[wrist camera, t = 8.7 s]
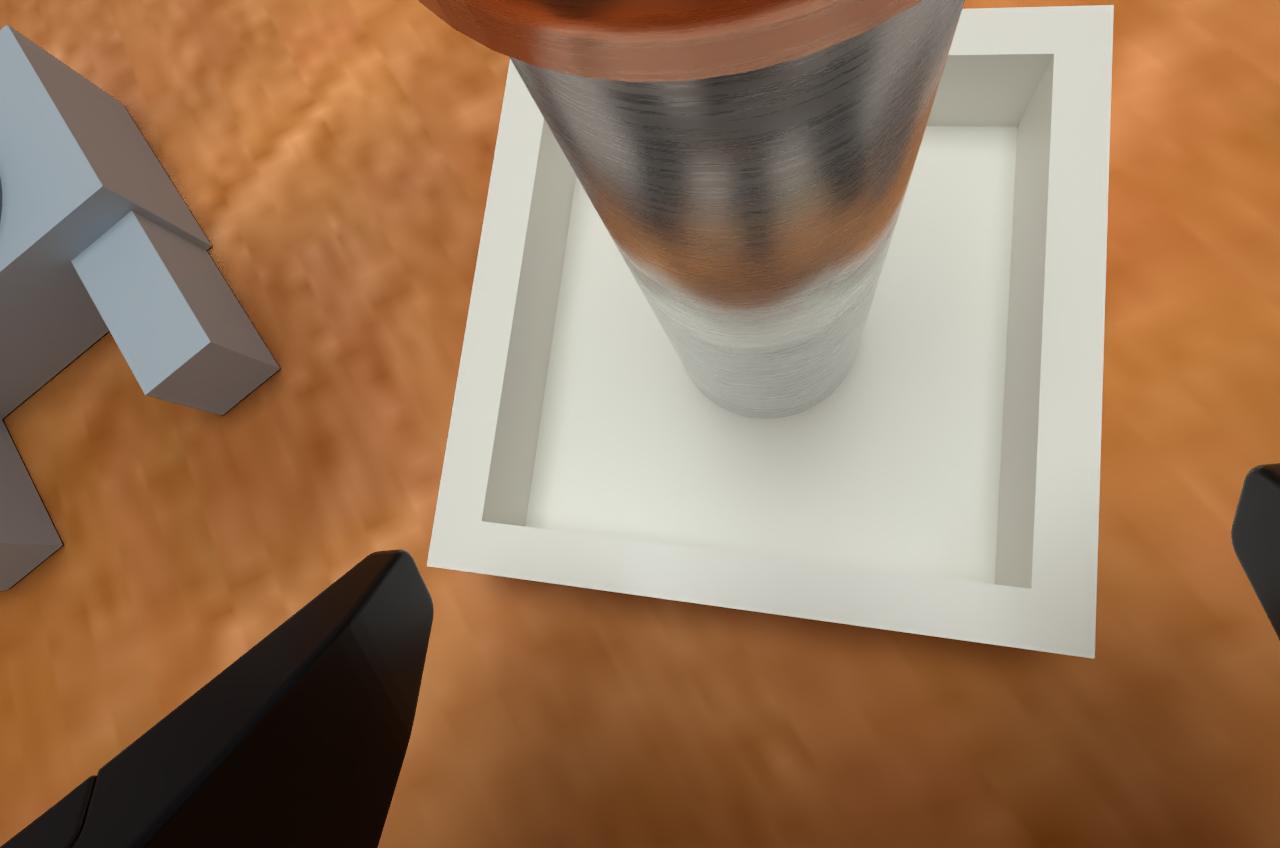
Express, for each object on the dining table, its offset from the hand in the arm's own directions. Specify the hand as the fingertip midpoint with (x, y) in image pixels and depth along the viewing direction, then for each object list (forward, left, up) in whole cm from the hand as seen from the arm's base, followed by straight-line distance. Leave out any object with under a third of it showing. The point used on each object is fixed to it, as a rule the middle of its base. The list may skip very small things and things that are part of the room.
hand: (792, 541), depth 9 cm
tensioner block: (+4, +21, -9) cm, 23 cm away
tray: (+5, +1, -9) cm, 10 cm away
